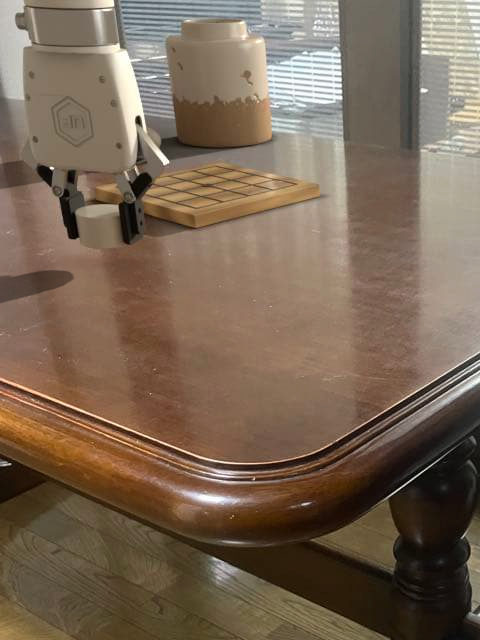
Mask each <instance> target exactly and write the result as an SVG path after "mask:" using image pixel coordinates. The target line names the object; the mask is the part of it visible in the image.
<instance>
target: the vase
mask: <svg viewBox="0 0 480 640" xmlns="http://www.w3.org/2000/svg"><path fill="white" fill-rule="evenodd" d="M247 28H248V27H247V23H246V20H244V19H240V18H226V17H225V18H222V17H221V18H219V17H218V18H215V17H213V18H191V19H184V20H181V21H180V32H181V33H180V34H176V35H175V34H174V35H170V36H167V37H166V38H165V41H164V44H165V54H166V61H167V69H168V75H169V84H170V91H171V99H172V106H173V114H174V120H175V128H176V134H177V139H178V141H179V142H180V143H182V144H184V145H188V146H193V147H201V148H239V147H247V146H253V145H254V146H255V145H259V144H262V143H263V144H264V143H266V142H268V141H269V140H271V139H272V136H273V130H272V115H271V114H272V113H271V102H270V101H271V100H270V89H269V87H270V86H269V77H268V62H267V51H266V49H267V48H266V41H265V38H264V37H263V36H262V35H259V34H255V33H248V29H247Z"/></svg>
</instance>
